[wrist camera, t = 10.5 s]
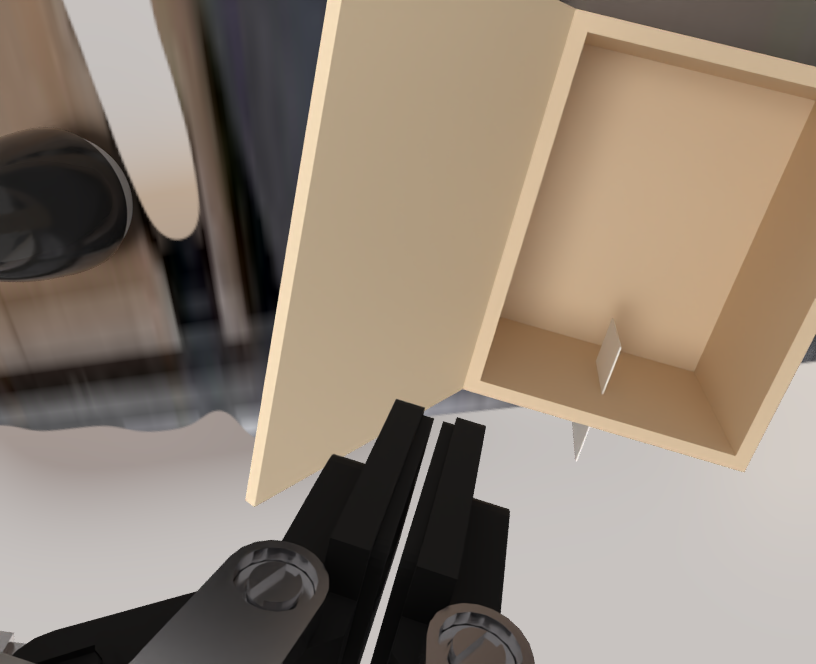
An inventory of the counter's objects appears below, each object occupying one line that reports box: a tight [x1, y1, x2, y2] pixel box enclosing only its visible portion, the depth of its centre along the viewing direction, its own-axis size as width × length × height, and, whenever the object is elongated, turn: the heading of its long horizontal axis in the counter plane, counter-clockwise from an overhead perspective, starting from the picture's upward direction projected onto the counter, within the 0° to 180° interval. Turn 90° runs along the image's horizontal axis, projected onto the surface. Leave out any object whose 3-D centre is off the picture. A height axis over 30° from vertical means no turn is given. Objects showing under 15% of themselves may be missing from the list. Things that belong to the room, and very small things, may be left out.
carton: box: [463, 9, 816, 472], centre depth 40 cm, size 16×24×12 cm, turn 167°
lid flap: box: [245, 0, 576, 507], centre depth 28 cm, size 16×20×1 cm
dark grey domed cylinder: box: [0, 127, 133, 282], centre depth 45 cm, size 10×10×15 cm
